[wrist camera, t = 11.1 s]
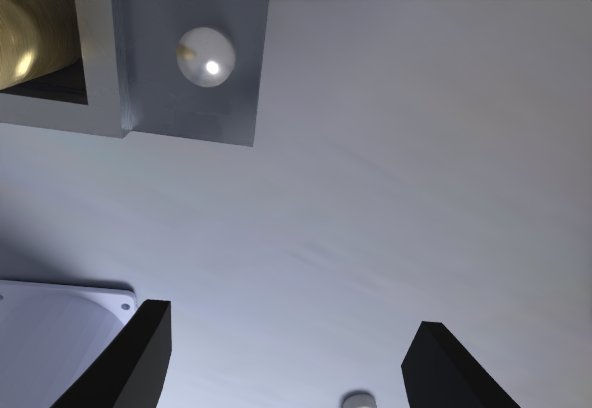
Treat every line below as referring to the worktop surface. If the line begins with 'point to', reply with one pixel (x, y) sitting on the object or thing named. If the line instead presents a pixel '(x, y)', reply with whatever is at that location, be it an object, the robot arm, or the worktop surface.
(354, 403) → the adjustable wrench
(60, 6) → the brass pin
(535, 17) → the worktop surface
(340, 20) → the worktop surface
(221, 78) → the studded plate with cutout
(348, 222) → the worktop surface
